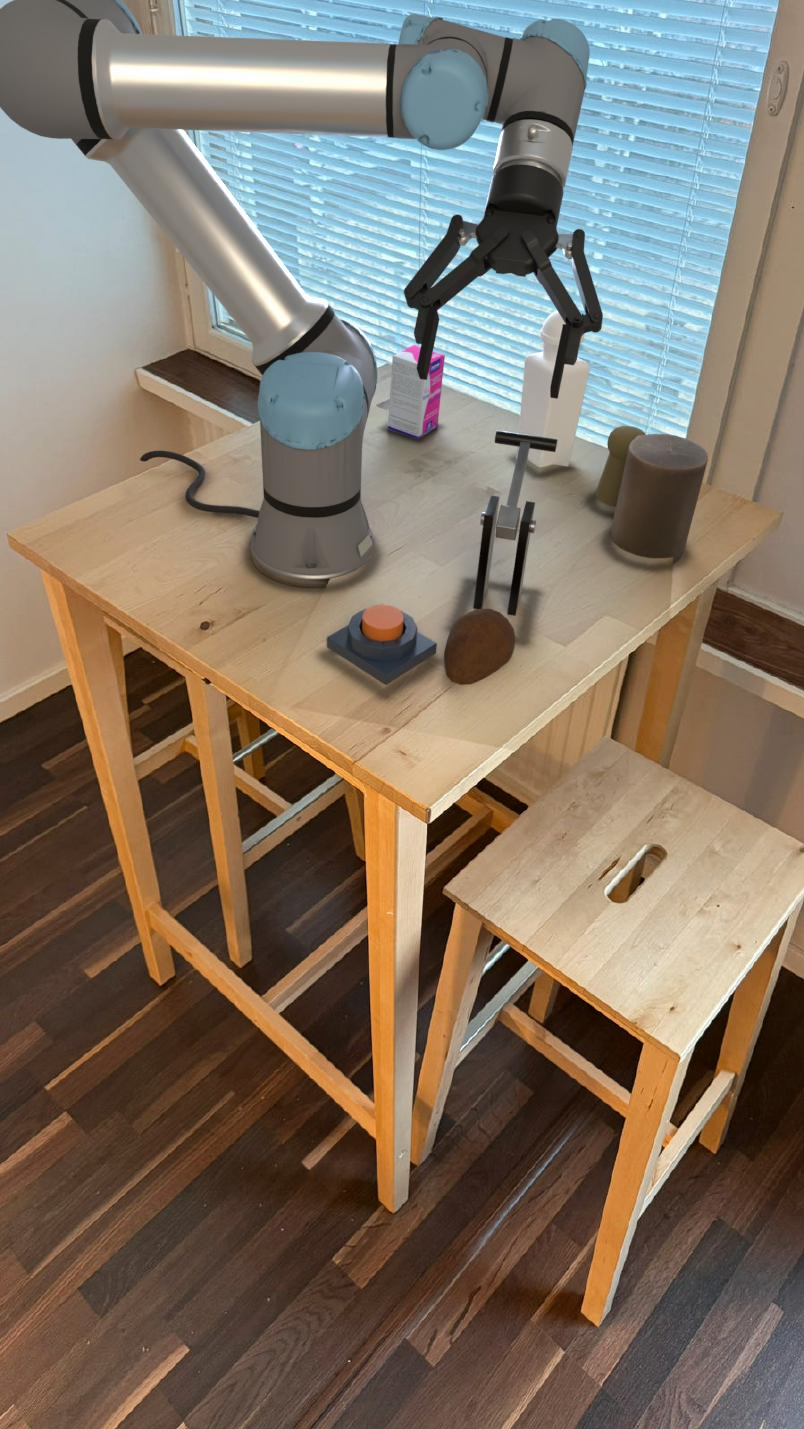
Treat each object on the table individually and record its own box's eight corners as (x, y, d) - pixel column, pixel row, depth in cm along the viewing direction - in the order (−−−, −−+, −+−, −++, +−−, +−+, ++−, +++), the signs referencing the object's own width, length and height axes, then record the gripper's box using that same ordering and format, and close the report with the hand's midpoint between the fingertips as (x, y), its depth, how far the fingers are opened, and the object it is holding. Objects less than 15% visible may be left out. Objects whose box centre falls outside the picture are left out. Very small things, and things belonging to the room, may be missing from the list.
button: (353, 629, 110) (353, 616, 109) (381, 612, 113) (382, 599, 112) (383, 647, 108) (383, 634, 107) (411, 630, 111) (412, 617, 109)
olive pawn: (634, 495, 143) (651, 422, 136) (637, 518, 139) (655, 443, 132) (591, 491, 144) (605, 418, 136) (593, 513, 139) (608, 438, 132)
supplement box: (419, 441, 152) (424, 366, 145) (386, 429, 155) (389, 355, 147) (439, 427, 156) (445, 353, 149) (407, 416, 158) (411, 343, 151)
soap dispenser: (546, 449, 153) (569, 299, 138) (573, 468, 148) (600, 315, 134) (510, 458, 150) (530, 306, 135) (537, 478, 146) (561, 323, 131)
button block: (326, 656, 113) (326, 623, 110) (376, 626, 118) (378, 594, 115) (385, 695, 109) (387, 662, 106) (435, 662, 113) (438, 629, 110)
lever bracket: (470, 582, 125) (481, 481, 116) (534, 593, 124) (551, 492, 115) (454, 629, 118) (465, 525, 109) (523, 641, 117) (540, 537, 108)
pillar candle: (657, 576, 128) (685, 468, 118) (593, 545, 133) (615, 439, 123) (697, 547, 134) (727, 442, 124) (634, 519, 139) (658, 415, 129)
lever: (496, 438, 119) (497, 425, 117) (556, 447, 118) (558, 434, 116) (474, 534, 114) (474, 522, 112) (536, 544, 113) (537, 532, 111)
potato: (423, 681, 111) (428, 629, 106) (469, 633, 118) (475, 582, 113) (481, 705, 108) (488, 653, 104) (524, 654, 115) (532, 603, 110)
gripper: (404, 147, 103) (361, 351, 102) (654, 174, 99) (613, 386, 98) (414, 190, 110) (374, 381, 109) (647, 217, 106) (608, 415, 105)
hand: (487, 384), depth 103 cm, fingers open, 13 cm apart
